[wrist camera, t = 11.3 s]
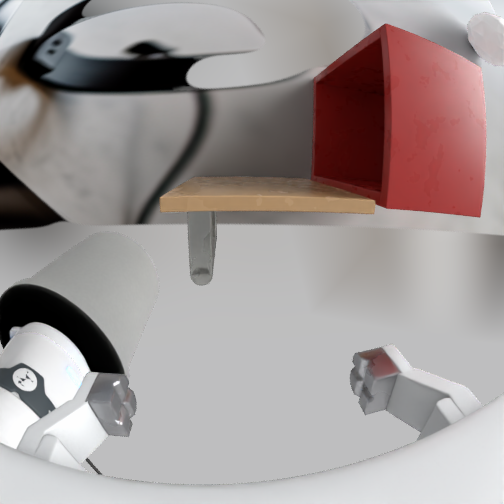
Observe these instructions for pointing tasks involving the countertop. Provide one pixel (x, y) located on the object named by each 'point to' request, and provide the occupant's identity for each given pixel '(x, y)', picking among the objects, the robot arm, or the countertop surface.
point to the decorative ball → (487, 37)
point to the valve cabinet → (402, 125)
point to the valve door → (248, 207)
